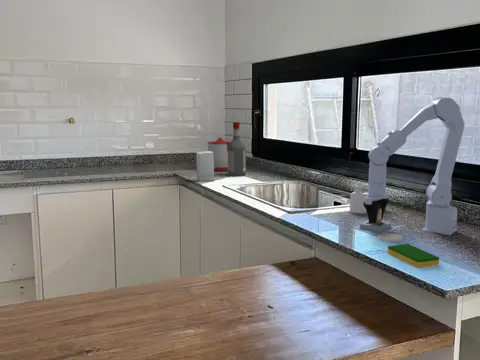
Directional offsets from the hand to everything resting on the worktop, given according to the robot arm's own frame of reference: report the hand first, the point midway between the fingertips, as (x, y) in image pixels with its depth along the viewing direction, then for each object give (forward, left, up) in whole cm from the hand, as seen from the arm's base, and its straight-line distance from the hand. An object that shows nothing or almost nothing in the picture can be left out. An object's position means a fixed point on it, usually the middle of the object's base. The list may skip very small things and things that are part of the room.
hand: (375, 221), depth 172 cm
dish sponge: (-20, +24, -3) cm, 31 cm away
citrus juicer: (+128, -74, -3) cm, 149 cm away
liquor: (+108, -64, -3) cm, 126 cm away
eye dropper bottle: (+14, -18, -3) cm, 23 cm away
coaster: (-8, +9, -3) cm, 13 cm away
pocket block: (0, 0, -3) cm, 3 cm away
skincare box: (+112, -40, -3) cm, 118 cm away
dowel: (0, 0, -2) cm, 2 cm away
